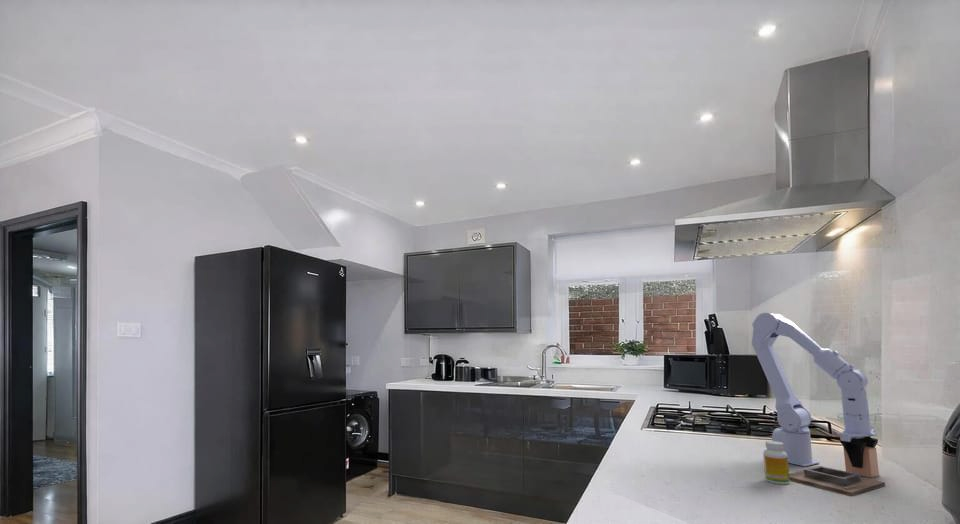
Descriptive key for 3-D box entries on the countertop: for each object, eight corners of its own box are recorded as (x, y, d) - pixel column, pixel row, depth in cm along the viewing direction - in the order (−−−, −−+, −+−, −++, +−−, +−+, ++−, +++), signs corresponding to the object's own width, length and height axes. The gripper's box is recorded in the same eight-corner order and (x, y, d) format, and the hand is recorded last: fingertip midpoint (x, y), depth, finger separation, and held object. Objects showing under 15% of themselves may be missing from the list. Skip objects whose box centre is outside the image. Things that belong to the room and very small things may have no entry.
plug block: (845, 471, 134) (843, 445, 135) (853, 469, 136) (850, 443, 137) (871, 477, 129) (868, 449, 130) (879, 475, 131) (876, 448, 132)
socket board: (782, 478, 129) (781, 468, 129) (816, 469, 136) (815, 460, 137) (852, 496, 115) (850, 485, 115) (885, 485, 122) (884, 475, 123)
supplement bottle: (793, 485, 123) (790, 445, 124) (769, 484, 124) (766, 444, 125) (784, 479, 128) (781, 440, 129) (762, 478, 129) (759, 439, 130)
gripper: (859, 419, 128) (865, 473, 126) (886, 414, 135) (892, 466, 133) (829, 415, 134) (834, 467, 132) (856, 410, 141) (862, 460, 139)
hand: (861, 466), depth 133 cm, fingers closed on plug block, 4 cm apart
